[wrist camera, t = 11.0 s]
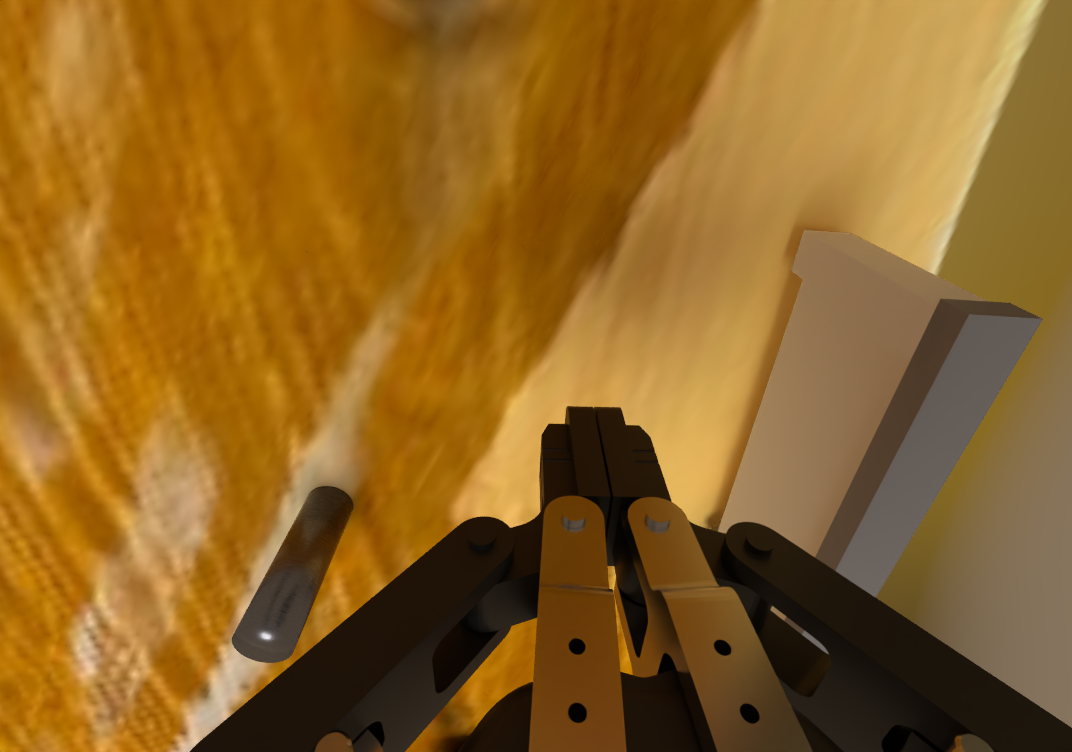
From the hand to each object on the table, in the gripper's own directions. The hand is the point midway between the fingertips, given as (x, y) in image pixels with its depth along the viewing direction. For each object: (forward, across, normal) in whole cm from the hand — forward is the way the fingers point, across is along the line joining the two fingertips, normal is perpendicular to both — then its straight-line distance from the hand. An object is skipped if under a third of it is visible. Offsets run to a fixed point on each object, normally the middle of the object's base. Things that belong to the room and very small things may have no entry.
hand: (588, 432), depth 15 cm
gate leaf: (+8, -9, +5) cm, 13 cm away
